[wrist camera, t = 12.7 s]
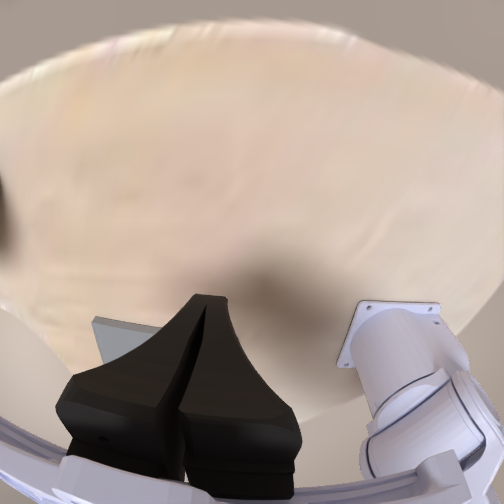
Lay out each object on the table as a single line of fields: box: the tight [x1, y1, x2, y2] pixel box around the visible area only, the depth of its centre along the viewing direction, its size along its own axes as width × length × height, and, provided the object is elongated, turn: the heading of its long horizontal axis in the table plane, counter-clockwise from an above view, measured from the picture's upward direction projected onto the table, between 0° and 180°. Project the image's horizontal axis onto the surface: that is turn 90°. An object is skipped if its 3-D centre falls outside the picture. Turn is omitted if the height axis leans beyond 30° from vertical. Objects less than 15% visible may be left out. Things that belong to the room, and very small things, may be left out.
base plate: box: [91, 317, 161, 364], centre depth 28 cm, size 14×14×1 cm
